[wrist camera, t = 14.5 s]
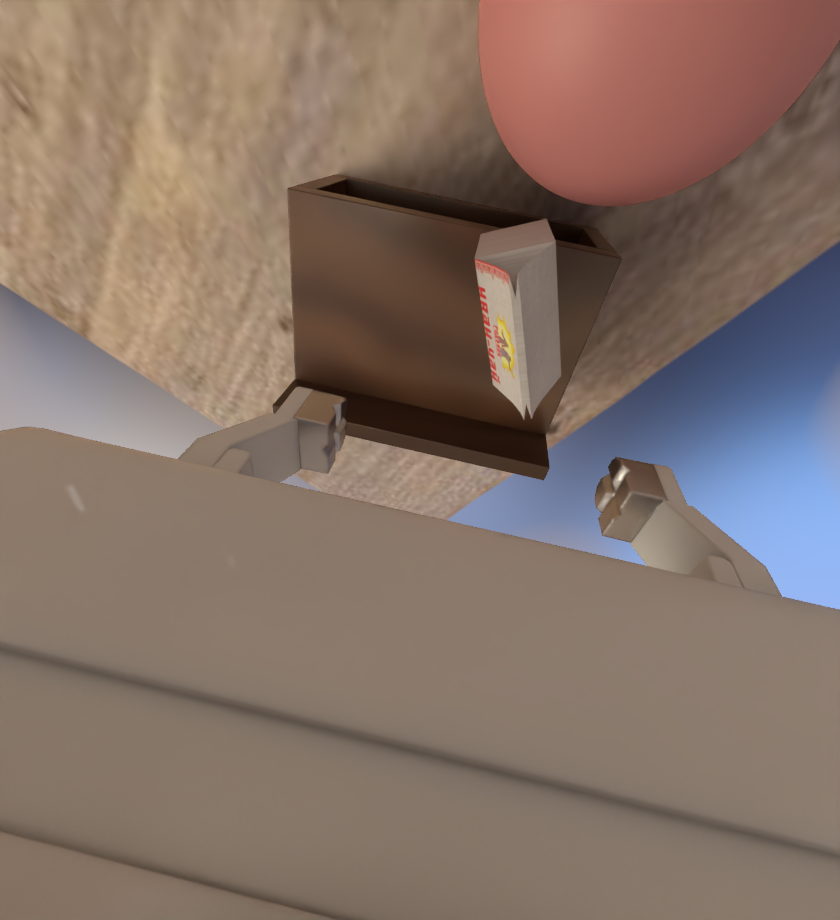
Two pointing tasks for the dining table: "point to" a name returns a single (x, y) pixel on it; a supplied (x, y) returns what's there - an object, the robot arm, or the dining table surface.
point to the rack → (423, 318)
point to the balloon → (643, 86)
